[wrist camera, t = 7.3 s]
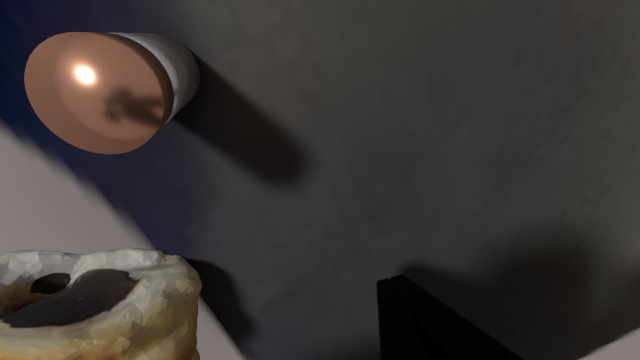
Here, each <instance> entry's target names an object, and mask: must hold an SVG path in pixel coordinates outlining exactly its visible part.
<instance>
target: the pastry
mask: <svg viewBox="0 0 640 360" xmlns="http://www.w3.org/2000/svg"><path fill="white" fill-rule="evenodd" d="M201 289H202V283H201V280H200V278H199V274H198V272H197V271H196V270H195V269H194V268H193V267H192V266H190V265H189V264H188V263H187V261H186V260H185V259H183V258H182V257H180V256H177V255H175V256H168V255H166V254H164V253H163V252H161V251H159V250H151V249H139V248H128V249H124V250H108V251H102V252H96V253H91V254H86V255H76V254H70V253H64V252H56V251H36V250H18V251H13V252H10V253H7V254H4V255H1V256H0V360H200V356H199V353H198V351H197V349H196V344H197V337H196V331H197V330H196V329H197V316H198V303H197V300H198V295H199V293H200V291H201Z"/></svg>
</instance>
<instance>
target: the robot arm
mask: <svg viewBox="0 0 640 360" xmlns="http://www.w3.org/2000/svg"><path fill="white" fill-rule="evenodd" d="M377 302H378V319H379V336H380V354H381V360H524V359H523V358H521V357H520V356H518V355H517V354H516V353H514V352H513V353H511V350H510V349H508V348H507V347H505V346H504V345H503V344H501V343H500V342H498V341H497V340H495V339H494V338H493V337H491V336H490V335H488V334H487V333H486V332H484V331H483V330H481V329H480V328H478V327H477V326H476V325H474V324H473V323H471V322H470V321H468V320H467V319H466V318H464V317H463V316H461V315H460V314H459V313H457V312H456V311H454V310H453V309H451V308H450V307H449V306H447V305H446V304H444V303H443V302H442V301H440V300H439V299H437V298H436V297H434V296H433V295H432V294H430V293H429V292H427V291H426V290H424V289H423V288H422V287H420V286H419V285H417V284H416V283H415V282H413V281H412V280H410V279H409V278H407V277H406V276H405V275H402V274H401V275H397V276H393V277H391V278H390V279H389V278H386V279H383V280H379V281H377Z"/></svg>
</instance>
